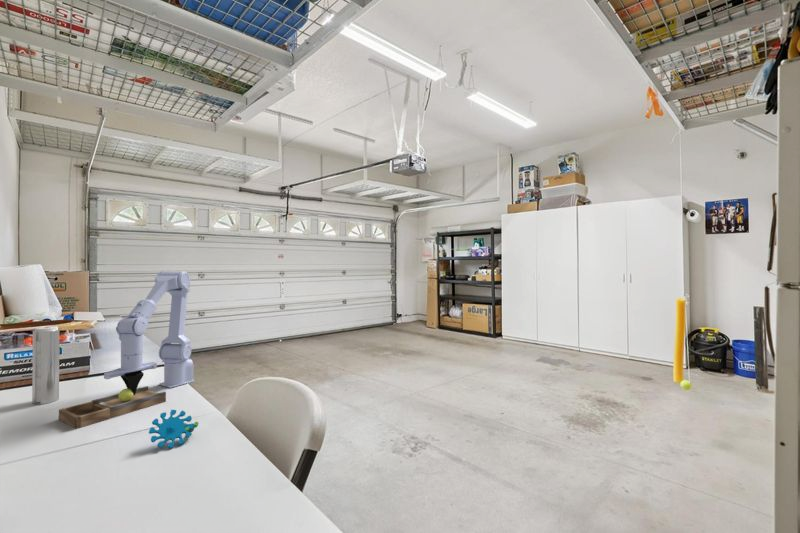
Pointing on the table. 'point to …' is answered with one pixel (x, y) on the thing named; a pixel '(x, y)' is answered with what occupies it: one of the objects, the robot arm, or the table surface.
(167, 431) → the gear
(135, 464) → the table surface
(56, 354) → the silver metal cylinder
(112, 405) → the wooden tray
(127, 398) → the ball
